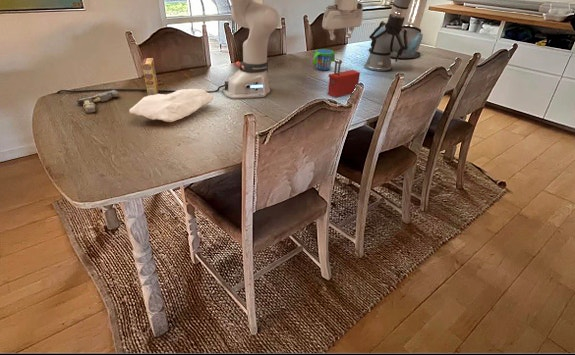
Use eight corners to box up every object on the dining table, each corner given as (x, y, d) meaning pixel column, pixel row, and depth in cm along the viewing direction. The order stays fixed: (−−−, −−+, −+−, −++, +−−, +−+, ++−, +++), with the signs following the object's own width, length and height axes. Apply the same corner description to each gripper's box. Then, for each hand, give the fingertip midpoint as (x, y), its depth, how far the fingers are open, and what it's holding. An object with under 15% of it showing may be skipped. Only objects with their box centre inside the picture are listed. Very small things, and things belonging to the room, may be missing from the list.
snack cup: (328, 65, 219) (329, 47, 214) (339, 69, 212) (341, 51, 206) (307, 68, 212) (308, 50, 206) (318, 73, 204) (319, 54, 199)
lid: (335, 79, 168) (337, 61, 163) (328, 76, 171) (330, 58, 167) (359, 74, 175) (362, 57, 171) (352, 71, 179) (354, 54, 174)
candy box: (157, 97, 164) (152, 63, 155) (147, 98, 163) (141, 63, 155) (158, 91, 171) (153, 57, 163) (149, 91, 170) (143, 58, 162)
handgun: (128, 97, 156) (111, 87, 164) (86, 107, 144) (70, 97, 152) (129, 103, 157) (113, 94, 165) (88, 114, 146) (72, 103, 154)
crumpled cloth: (117, 110, 146) (113, 90, 140) (195, 92, 166) (194, 73, 160) (143, 139, 134) (140, 118, 128) (223, 116, 154) (224, 96, 148)
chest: (334, 97, 173) (336, 79, 168) (327, 94, 176) (329, 76, 172) (357, 92, 180) (359, 74, 175) (350, 89, 184) (352, 72, 179)
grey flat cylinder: (430, 54, 248) (433, 40, 243) (396, 60, 230) (398, 45, 226) (391, 47, 273) (393, 34, 268) (357, 52, 255) (359, 38, 251)
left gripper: (330, 6, 147) (327, 42, 154) (366, 4, 157) (361, 38, 164) (320, 4, 151) (317, 39, 158) (356, 2, 161) (352, 35, 169)
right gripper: (371, 10, 176) (359, 51, 191) (421, 25, 170) (405, 66, 185) (375, 6, 181) (363, 46, 196) (424, 20, 175) (408, 61, 190)
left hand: (340, 38), depth 162 cm, fingers open, 8 cm apart
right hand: (383, 56), depth 191 cm, fingers open, 13 cm apart
